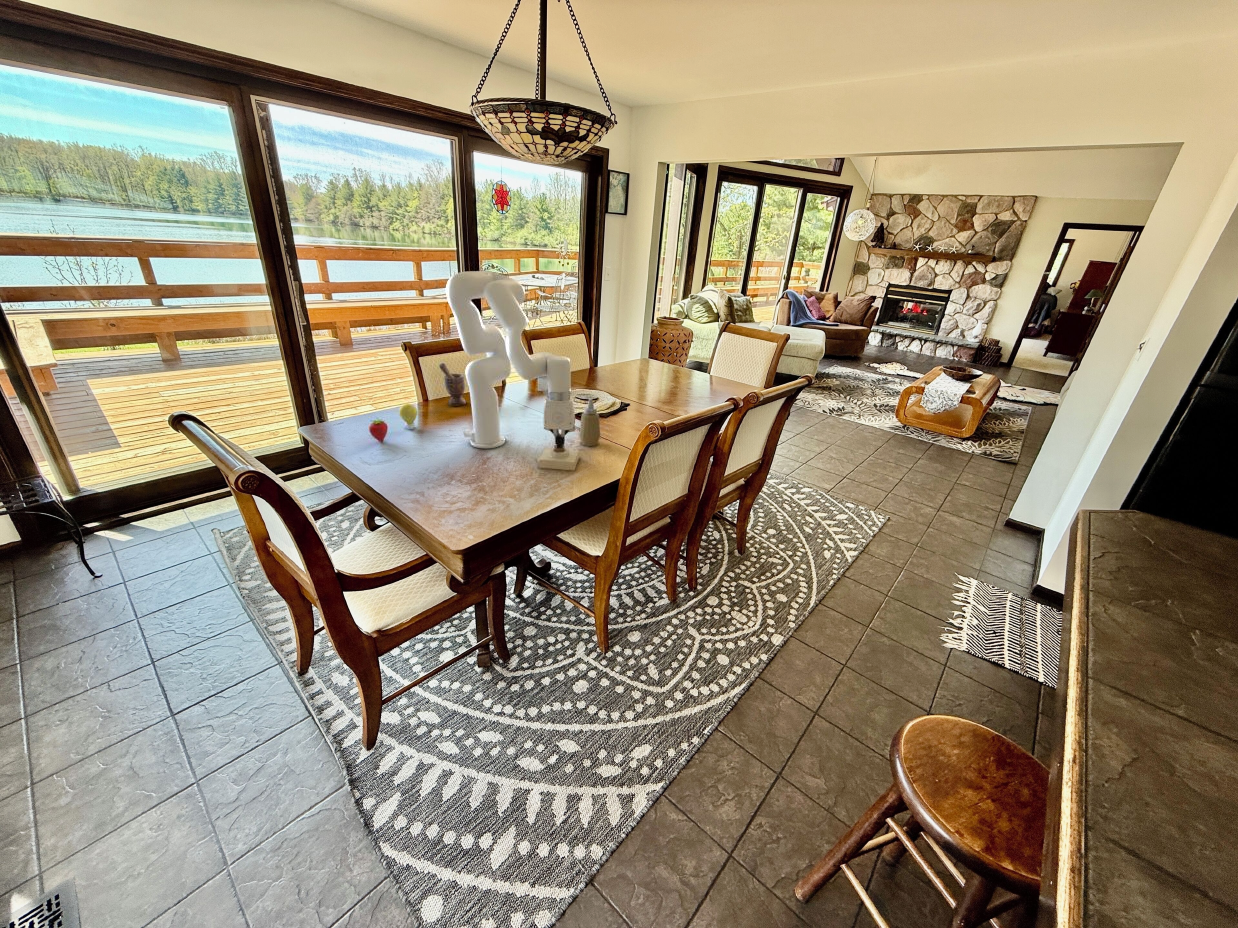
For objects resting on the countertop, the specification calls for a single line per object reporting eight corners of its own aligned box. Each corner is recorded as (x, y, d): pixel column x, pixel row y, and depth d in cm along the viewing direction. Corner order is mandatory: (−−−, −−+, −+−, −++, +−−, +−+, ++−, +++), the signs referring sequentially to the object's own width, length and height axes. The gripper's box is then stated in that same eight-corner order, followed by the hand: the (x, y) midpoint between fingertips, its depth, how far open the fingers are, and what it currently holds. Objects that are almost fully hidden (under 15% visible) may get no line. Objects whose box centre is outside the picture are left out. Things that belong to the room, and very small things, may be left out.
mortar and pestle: (460, 409, 213) (456, 365, 204) (441, 408, 213) (436, 363, 204) (469, 401, 223) (465, 358, 215) (450, 400, 223) (446, 357, 215)
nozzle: (553, 453, 165) (553, 447, 164) (555, 449, 168) (555, 443, 167) (563, 454, 164) (563, 448, 163) (565, 449, 168) (565, 444, 167)
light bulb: (397, 429, 189) (393, 405, 184) (410, 424, 194) (406, 400, 190) (411, 432, 186) (407, 408, 182) (423, 427, 192) (420, 403, 188)
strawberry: (368, 445, 174) (363, 419, 169) (377, 437, 180) (372, 412, 176) (384, 446, 174) (380, 420, 169) (393, 438, 181) (388, 413, 176)
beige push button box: (539, 467, 164) (539, 454, 162) (545, 455, 173) (545, 443, 171) (574, 470, 163) (574, 457, 161) (578, 458, 172) (578, 445, 170)
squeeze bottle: (597, 449, 180) (598, 403, 173) (576, 446, 182) (577, 400, 174) (602, 441, 188) (603, 396, 180) (582, 438, 189) (583, 394, 181)
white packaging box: (537, 391, 242) (537, 366, 237) (542, 387, 249) (541, 363, 243) (551, 392, 241) (551, 368, 236) (556, 388, 248) (555, 364, 242)
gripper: (534, 396, 154) (536, 449, 162) (580, 399, 153) (579, 452, 161) (539, 390, 161) (541, 440, 169) (583, 393, 160) (583, 443, 168)
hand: (560, 446), depth 165 cm, fingers closed
